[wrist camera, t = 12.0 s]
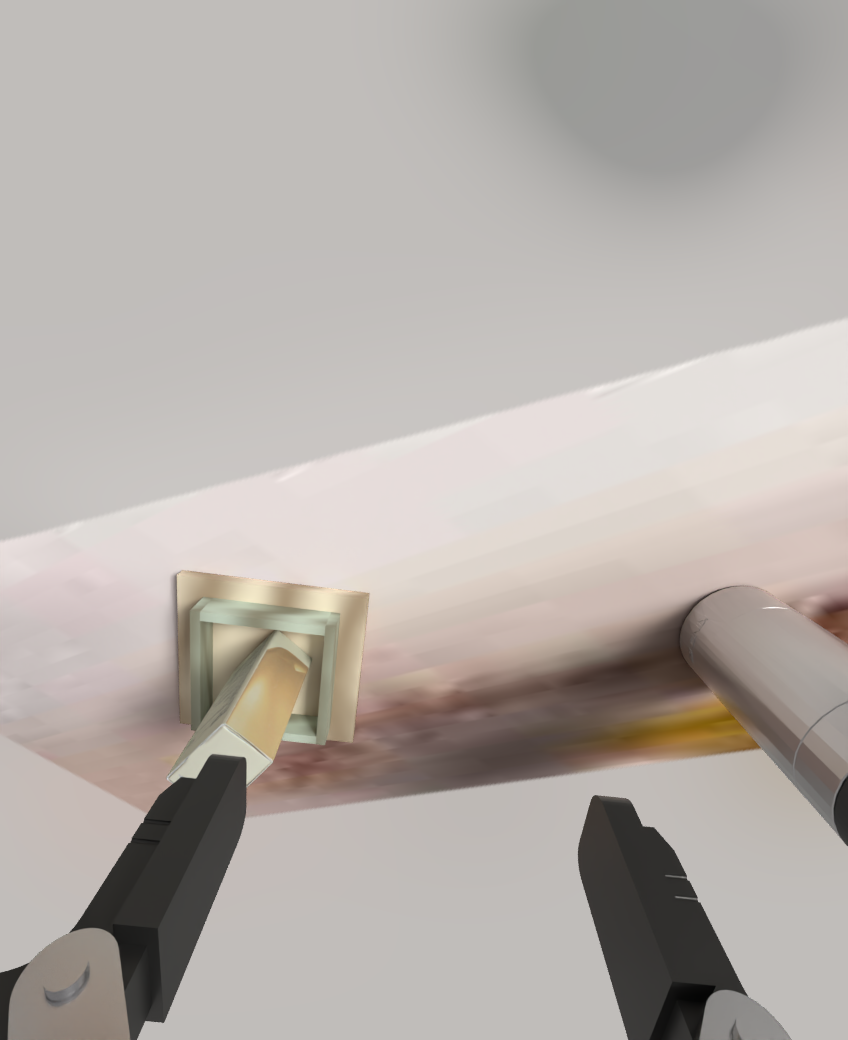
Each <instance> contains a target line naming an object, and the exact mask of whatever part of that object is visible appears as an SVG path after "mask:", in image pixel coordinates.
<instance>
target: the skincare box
mask: <svg viewBox="0 0 848 1040" xmlns="http://www.w3.org/2000/svg"><path fill="white" fill-rule="evenodd" d="M311 662H312V658H311V657H310V656H309V655H307V654H306V653H305V652H304V651H303V650H302V649H301V648H299V647H298V646H297V645H296V644H295V643H293V642H292V641H291V640H290V639H289V638H287V637H286V636H285V635H284V634H282V633H281V632H280V631H279V630H275V631H274V632H273V633H272V634H270V635H269V636H268V637H267V638H266V639H265V640H264V641H263V642H262V643H261V644H260V645H259V646H258V647H257V648H256V649H255V650H254V651H253V652H252V653H251V654H250V655H249V656H248V657H247V658H246V659H245V660H244V661H243V662H242V663H241V664H240V665H239V666H238V667H237V668H236V669H235V670H234V672H233V673H232V675H231V676H230V678H229V679H228V681H227V683H226V684H225V686H224V687H223V689H222V690H221V692H220V694H219V695H218V697H217V698H216V700H215V702H214V703H213V705H212V706H211V708H210V709H209V711H208V713H207V714H206V716H205V717H204V719H203V720H202V722H201V724H200V725H199V727H198V728H197V730H196V731H195V733H194V735H193V736H192V738H191V739H190V741H189V742H188V744H187V746H186V747H185V749H184V750H183V752H182V753H181V755H180V757H179V758H178V760H177V761H176V763H175V765H174V766H173V768H172V769H171V771H170V773H169V774H168V776H167V780H168V781H170V782H171V783H174V782H176V781H177V780H178V779H179V778H180V777H186V778H197V776H198V774H199V773H200V771H201V769H202V767H203V766H204V764H205V762H206V760H207V759H208V757H209V756H210V755H211V754H219V755H229V756H238V757H245V758H246V762H247V779H246V788H247V787H248V786H249V785H250V784H251V783H252V782H253V781H254V780H255V779H256V778H257V777H258V776H259V775H260V774H261V773H262V772H264V771H265V770H266V769H267V768H268V767H269V766H270V765H271V764H272V763H273V760H274V758H275V755H276V752H277V750H278V747H279V745H280V742H281V739H282V737H283V734H284V732H285V729H286V726H287V724H288V721H289V719H290V716H291V713H292V711H293V708H294V706H295V703H296V700H297V698H298V695H299V693H300V690H301V687H302V685H303V682H304V680H305V677H306V674H307V672H308V669H309V667H310V664H311Z"/></svg>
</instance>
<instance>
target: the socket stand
mask: <svg viewBox="0 0 848 1040" xmlns="http://www.w3.org/2000/svg"><path fill="white" fill-rule="evenodd" d="M368 602H369V593H363V592H355V591H347V590H339V589H330V588H322V587H314V586H306V585H298V584H290V583H282V582H274V581H265V580H257V579H249V578H241V577H233V576H225V575H217V574H208V573H200V572H192V571H184V570H182V571H181V572H180V573H179V574H177V610H178V658H179V706H180V723H182V724H191V730H195V731H196V730H197V728H198V727H199V725H200V724H201V722H202V720H203V719H204V717H205V716H206V714H207V713H208V711H209V709H210V708H211V706H212V705H213V703H214V702H215V700H216V698H217V697H218V695H219V694H220V692H221V690H222V689H223V687H224V686H225V684H226V683H227V681H228V679H229V678H230V676H231V675H232V673H233V672H234V670H235V669H236V668H237V667H238V666H239V665H240V664H241V663H242V662H243V661H244V660H245V659H246V658H247V657H248V656H249V655H250V654H251V653H252V652H253V651H254V650H255V649H256V648H257V647H258V646H259V645H260V644H261V643H262V642H263V641H264V640H265V639H266V638H267V637H268V636H269V635H270V634H272V633H273V632H274V631H275V630H279V631H280V632H281V633H282V634H284V635H285V636H286V637H287V638H289V639H290V640H291V641H292V642H293V643H295V644H296V645H297V646H298V647H299V648H301V649H302V650H303V651H304V652H305V653H306V654H307V655H309V656H310V657H311V658H312V662H311V664H310V667H309V669H308V672H307V674H306V677H305V680H304V682H303V685H302V687H301V690H300V693H299V695H298V698H297V700H296V703H295V706H294V708H293V711H292V713H291V716H290V719H289V721H288V724H287V726H286V729H285V732H284V734H283V737H282V739H281V740H284V741H293V742H301V743H310V744H319V745H325V743H326V740H333V741H341V742H350V743H353V738H354V731H355V721H356V712H357V703H358V694H359V685H360V676H361V666H362V657H363V648H364V639H365V630H366V620H367V611H368Z"/></svg>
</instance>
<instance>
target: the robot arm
mask: <svg viewBox="0 0 848 1040" xmlns="http://www.w3.org/2000/svg"><path fill="white" fill-rule="evenodd" d="M680 648H681V652H682V655H683V657H684V658H685V660H686V662H687V663H688V664H689V666H690V667H691V668H692V669H693V670H694V671H695V672H696V674H697V675H698V676H699V677H700V678H701V679H702V680H703V682H704V683H705V684H706V685H707V686H708V687H709V688H710V690H711V691H712V692H713V693H714V694H715V696H716V697H717V698H718V699H719V700H720V701H721V702H722V704H723V705H724V706H725V707H726V708H727V709H728V710H729V712H730V713H731V714H732V715H733V716H734V717H735V718H736V720H737V721H738V722H739V723H740V724H741V725H742V726H743V728H744V729H745V730H746V731H747V732H748V733H749V734H750V736H751V737H752V738H753V739H754V740H755V741H756V742H757V744H758V745H759V746H760V747H761V748H762V749H763V750H764V751H765V753H766V754H767V755H768V756H769V757H770V758H771V760H772V761H773V762H774V763H775V764H776V765H777V766H778V767H779V769H780V770H781V771H782V772H783V773H784V774H785V775H786V776H787V778H788V779H789V780H790V781H791V782H792V783H793V785H794V786H795V787H796V788H797V789H798V790H799V791H800V793H801V794H802V795H803V796H804V797H805V798H806V799H807V800H808V801H809V802H810V804H811V805H812V806H813V807H814V808H815V809H816V810H817V812H818V813H819V814H820V815H821V816H822V817H823V818H824V820H825V821H826V822H827V823H828V824H829V825H830V826H831V828H832V829H833V830H834V831H835V832H836V833H837V835H838V836H839V837H840V838H841V839H842V840H843V841H844V843H845V844H846V845H847V846H848V644H847V643H845V642H844V641H842V640H841V639H839V638H838V637H836V636H835V635H833V634H832V633H830V632H829V631H827V630H826V629H824V628H823V627H821V626H820V625H818V624H817V623H815V622H814V621H812V620H810V619H809V618H807V617H806V616H804V615H803V614H801V613H800V612H798V611H797V610H795V609H794V608H791V607H790V606H788V605H787V604H785V603H784V602H782V601H781V600H779V599H777V598H776V597H774V596H773V595H771V594H770V593H768V592H767V591H765V590H762V589H759V588H756V587H750V586H735V587H730V588H726V589H722V590H719V591H717V592H715V593H713V594H711V595H709V596H708V597H706V598H705V599H703V600H701V601H700V602H699V603H698V604H697V605H696V606H695V607H694V608H693V609H692V610H691V612H690V613H689V615H688V616H687V617H686V619H685V621H684V624H683V626H682V629H681V634H680ZM246 779H247V762H246V758H245V757H238V756H229V755H219V754H211V755H210V756H209V757H208V759H207V760H206V762H205V764H204V766H203V767H202V769H201V771H200V773H199V774H198V776H197V778H186V777H180V778H179V779H178V780H177V781H176V782H174V783H173V784H172V785H171V786H170V787H169V788H167V789H166V790H165V791H164V792H163V793H162V794H160V795H159V796H158V798H157V800H156V801H155V803H154V804H153V806H152V807H151V809H150V811H149V812H148V814H147V815H146V817H145V818H144V822H143V823H141V825H140V826H139V828H138V829H137V831H136V832H135V834H134V836H133V837H132V841H131V843H128V845H127V847H126V848H125V850H124V851H123V853H122V854H121V856H120V858H119V859H118V861H117V862H116V864H115V866H114V867H113V868H112V870H111V872H110V873H109V875H108V876H107V878H106V879H105V881H104V883H103V884H102V886H101V887H100V889H99V891H98V892H97V894H96V895H95V897H94V898H93V900H92V901H91V903H90V905H89V906H88V908H87V909H86V911H85V912H84V914H83V916H82V917H81V918H80V920H79V921H78V923H77V924H76V926H75V927H74V928H73V929H72V930H71V931H70V933H69V934H66V935H64V936H62V937H60V938H59V939H57V940H55V941H54V942H52V943H51V944H49V945H48V946H47V947H45V948H44V949H43V950H42V951H41V952H39V954H37V956H35V958H34V959H33V960H31V962H30V963H28V964H25V965H23V966H21V967H18V968H15V969H12V970H9V971H5V972H1V973H0V1040H137V1038H138V1036H139V1034H140V1031H141V1029H142V1027H143V1025H144V1022H145V1021H152V1022H162V1023H164V1021H165V1019H166V1017H167V1014H168V1011H169V1009H170V1007H171V1005H172V1002H173V1000H174V997H175V995H176V992H177V990H178V987H179V985H180V982H181V980H182V978H183V975H184V973H185V970H186V968H187V965H188V963H189V960H190V958H191V956H192V953H193V951H194V948H195V946H196V943H197V941H198V939H199V936H200V934H201V931H202V929H203V926H204V924H205V921H206V919H207V916H208V914H209V912H210V909H211V907H212V904H213V902H214V900H215V897H216V895H217V892H218V890H219V887H220V885H221V882H222V880H223V878H224V875H225V873H226V870H227V868H228V865H229V863H230V860H231V858H232V856H233V853H234V851H235V848H236V846H237V843H238V841H239V838H240V835H241V832H242V829H243V825H244V820H245V814H246ZM578 863H579V871H580V876H581V879H582V883H583V886H584V890H585V893H586V896H587V900H588V903H589V907H590V910H591V914H592V917H593V920H594V924H595V927H596V931H597V934H598V937H599V941H600V944H601V948H602V951H603V954H604V958H605V961H606V965H607V968H608V972H609V975H610V979H611V982H612V985H613V989H614V992H615V996H616V999H617V1003H618V1006H619V1009H620V1013H621V1016H622V1019H623V1023H624V1026H625V1030H626V1033H627V1037H628V1040H791V1038H790V1037H789V1035H788V1034H787V1032H786V1031H785V1030H784V1028H783V1027H782V1026H781V1024H780V1023H779V1022H778V1021H777V1020H776V1019H775V1018H774V1017H773V1016H772V1015H771V1014H770V1013H769V1012H768V1011H767V1010H766V1009H765V1008H764V1007H762V1006H761V1005H760V1004H759V1003H757V1002H756V1001H754V1000H753V999H751V998H749V997H748V995H747V994H746V992H745V990H744V988H743V987H742V985H741V983H740V981H739V979H738V977H737V975H736V973H735V971H734V969H733V967H732V965H731V963H730V961H729V959H728V957H727V955H726V953H725V951H724V949H723V947H722V945H721V943H720V941H719V939H718V937H717V935H716V933H715V931H714V929H713V927H712V925H711V923H710V921H709V919H708V917H707V915H706V913H705V911H704V909H703V907H702V905H701V903H699V902H698V900H697V895H696V893H695V891H694V889H693V887H692V885H691V883H690V881H688V880H687V875H686V873H685V871H684V869H683V867H682V865H681V863H680V861H679V859H678V857H677V855H676V853H675V851H674V850H673V849H672V848H671V846H670V845H669V844H668V843H667V842H666V841H665V840H664V838H663V837H662V836H661V835H660V834H659V833H658V832H657V830H656V829H655V828H653V827H643V826H642V824H641V821H640V819H639V817H638V815H637V813H636V811H635V808H634V807H633V805H632V803H631V802H630V801H629V800H628V799H626V798H616V797H607V796H606V797H605V796H597V795H595V796H593V797H592V799H591V802H590V806H589V809H588V813H587V817H586V820H585V824H584V827H583V831H582V835H581V838H580V842H579V847H578Z"/></svg>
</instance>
